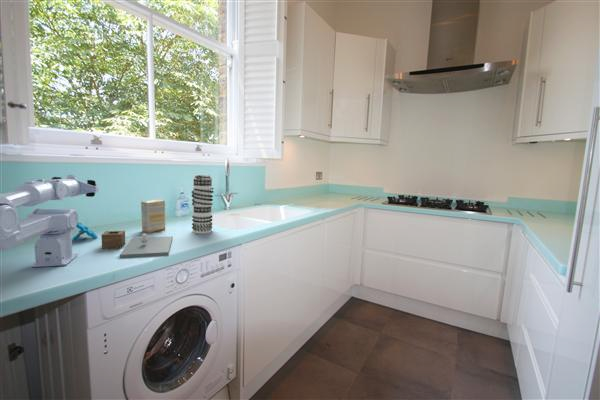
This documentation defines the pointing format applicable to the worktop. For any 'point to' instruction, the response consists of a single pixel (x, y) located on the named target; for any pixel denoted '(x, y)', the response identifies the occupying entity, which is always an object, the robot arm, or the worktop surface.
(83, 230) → the gear
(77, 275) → the worktop surface
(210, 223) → the decorative candle
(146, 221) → the supplement box
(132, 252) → the hub board
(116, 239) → the collar
